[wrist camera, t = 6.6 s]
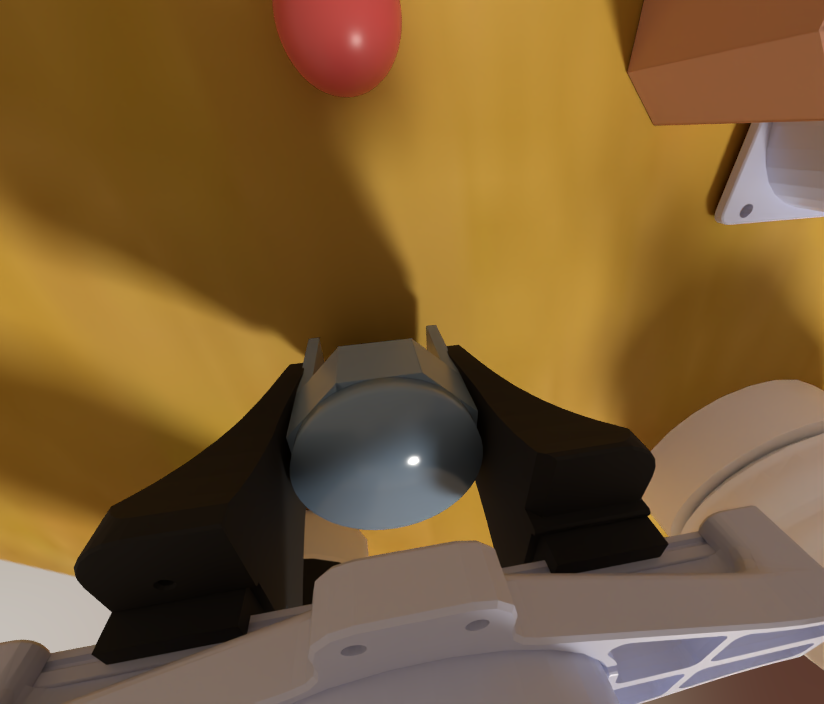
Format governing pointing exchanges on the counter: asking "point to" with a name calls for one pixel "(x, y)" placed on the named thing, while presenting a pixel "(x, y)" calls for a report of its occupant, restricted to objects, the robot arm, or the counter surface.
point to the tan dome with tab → (730, 61)
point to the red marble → (340, 41)
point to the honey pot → (747, 465)
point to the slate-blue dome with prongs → (382, 433)
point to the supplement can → (327, 549)
